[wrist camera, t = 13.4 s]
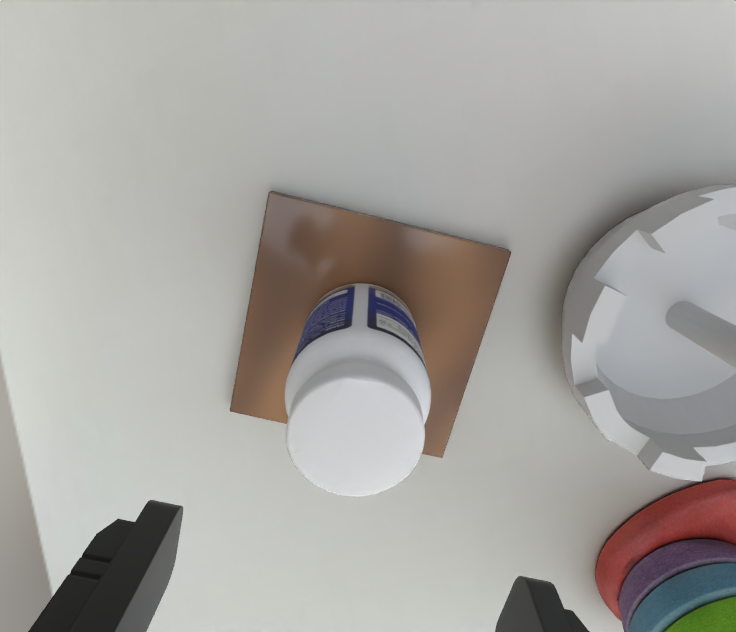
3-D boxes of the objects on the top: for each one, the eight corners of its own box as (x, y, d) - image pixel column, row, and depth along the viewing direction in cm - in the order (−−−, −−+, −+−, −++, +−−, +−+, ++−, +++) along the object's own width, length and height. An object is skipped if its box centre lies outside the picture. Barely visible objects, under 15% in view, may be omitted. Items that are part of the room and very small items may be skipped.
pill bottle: (310, 386, 28) (277, 513, 18) (300, 282, 26) (257, 364, 16) (418, 382, 27) (441, 508, 18) (416, 277, 26) (440, 356, 16)
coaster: (232, 406, 29) (229, 411, 28) (271, 190, 25) (268, 191, 24) (440, 452, 29) (442, 458, 29) (508, 249, 26) (511, 251, 25)
